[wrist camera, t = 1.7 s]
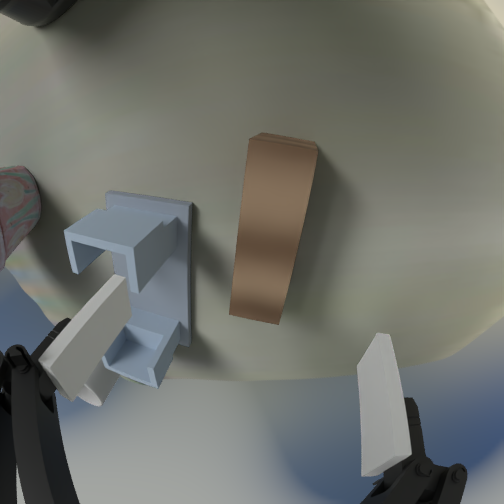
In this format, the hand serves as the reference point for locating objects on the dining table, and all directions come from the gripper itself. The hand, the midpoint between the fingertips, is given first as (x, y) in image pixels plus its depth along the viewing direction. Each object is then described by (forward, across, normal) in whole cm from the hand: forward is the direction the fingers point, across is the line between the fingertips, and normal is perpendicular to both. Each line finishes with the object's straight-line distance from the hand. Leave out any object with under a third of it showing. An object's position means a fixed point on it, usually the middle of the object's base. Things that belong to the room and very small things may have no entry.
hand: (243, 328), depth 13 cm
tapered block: (+14, 0, 0) cm, 14 cm away
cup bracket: (+14, -13, -10) cm, 22 cm away
